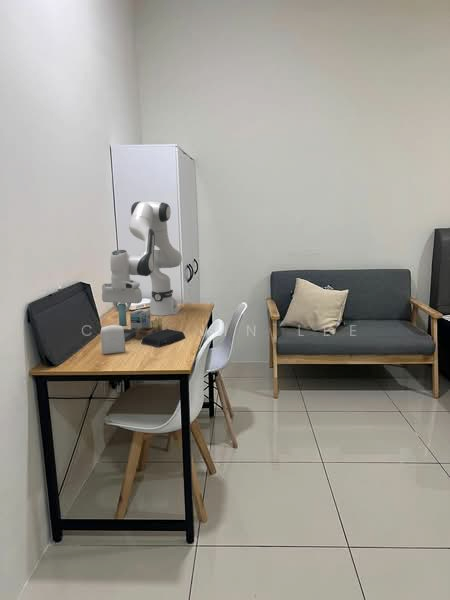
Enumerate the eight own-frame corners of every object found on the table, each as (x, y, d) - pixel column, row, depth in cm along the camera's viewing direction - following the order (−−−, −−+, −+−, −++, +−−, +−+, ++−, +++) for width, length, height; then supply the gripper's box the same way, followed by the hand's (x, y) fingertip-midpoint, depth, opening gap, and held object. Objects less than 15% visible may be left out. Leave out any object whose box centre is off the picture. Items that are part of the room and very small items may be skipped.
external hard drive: (139, 344, 217) (139, 336, 216) (167, 335, 232) (166, 327, 231) (159, 348, 209) (159, 340, 208) (186, 339, 225) (186, 330, 224)
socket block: (143, 334, 232) (142, 327, 231) (157, 335, 230) (157, 327, 229) (135, 338, 225) (135, 331, 224) (150, 339, 223) (150, 331, 222)
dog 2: (157, 330, 240) (156, 317, 238) (163, 330, 239) (162, 317, 238) (154, 332, 237) (154, 319, 235) (160, 332, 236) (160, 319, 235)
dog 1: (153, 333, 235) (152, 319, 234) (159, 333, 234) (158, 320, 233) (150, 334, 232) (150, 321, 231) (156, 335, 231) (156, 321, 230)
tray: (122, 333, 235) (122, 328, 235) (138, 334, 233) (138, 329, 232) (109, 340, 222) (108, 335, 222) (125, 341, 220) (125, 336, 219)
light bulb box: (142, 334, 233) (141, 313, 231) (130, 333, 235) (129, 313, 233) (151, 329, 243) (150, 309, 241) (140, 328, 245) (138, 308, 243)
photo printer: (101, 354, 201) (99, 327, 198) (101, 351, 205) (99, 325, 202) (125, 352, 203) (124, 325, 201) (125, 349, 207) (123, 323, 205)
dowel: (117, 326, 225) (116, 304, 223) (121, 324, 228) (120, 302, 226) (124, 326, 224) (123, 304, 222) (128, 325, 227) (127, 303, 225)
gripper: (98, 284, 222) (100, 311, 225) (136, 285, 217) (138, 313, 219) (105, 282, 228) (107, 309, 231) (142, 283, 223) (144, 310, 225)
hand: (122, 311), depth 225 cm, fingers closed on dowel, 4 cm apart
